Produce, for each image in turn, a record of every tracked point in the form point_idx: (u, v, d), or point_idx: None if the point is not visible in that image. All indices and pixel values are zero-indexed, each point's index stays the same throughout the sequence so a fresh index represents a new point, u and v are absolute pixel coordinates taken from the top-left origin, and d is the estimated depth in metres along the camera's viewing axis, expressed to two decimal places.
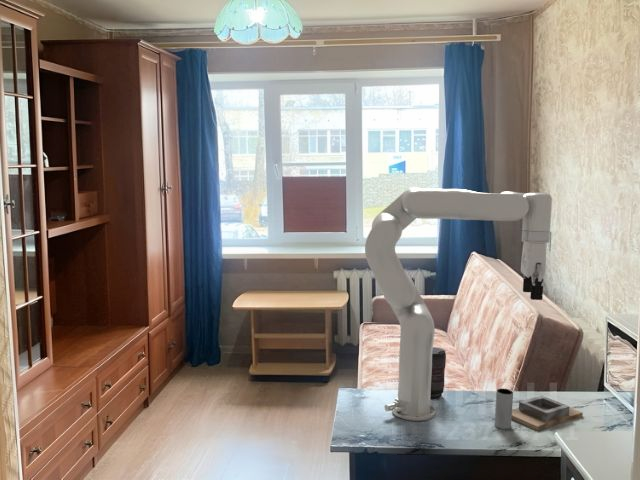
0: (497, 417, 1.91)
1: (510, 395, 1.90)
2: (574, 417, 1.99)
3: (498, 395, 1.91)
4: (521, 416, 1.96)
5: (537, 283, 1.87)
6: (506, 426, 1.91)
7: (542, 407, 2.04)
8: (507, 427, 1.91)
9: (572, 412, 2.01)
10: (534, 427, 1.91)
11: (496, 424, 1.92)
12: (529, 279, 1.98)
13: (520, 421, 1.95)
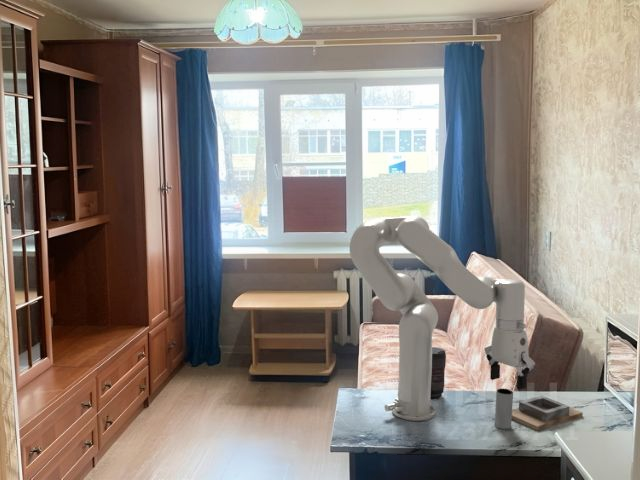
0: (497, 417, 1.91)
1: (510, 395, 1.90)
2: (574, 417, 1.99)
3: (498, 395, 1.91)
4: (521, 416, 1.96)
5: None
6: (506, 426, 1.91)
7: (542, 407, 2.04)
8: (507, 427, 1.91)
9: (572, 412, 2.01)
10: (534, 427, 1.91)
11: (496, 424, 1.92)
12: None
13: (520, 421, 1.95)
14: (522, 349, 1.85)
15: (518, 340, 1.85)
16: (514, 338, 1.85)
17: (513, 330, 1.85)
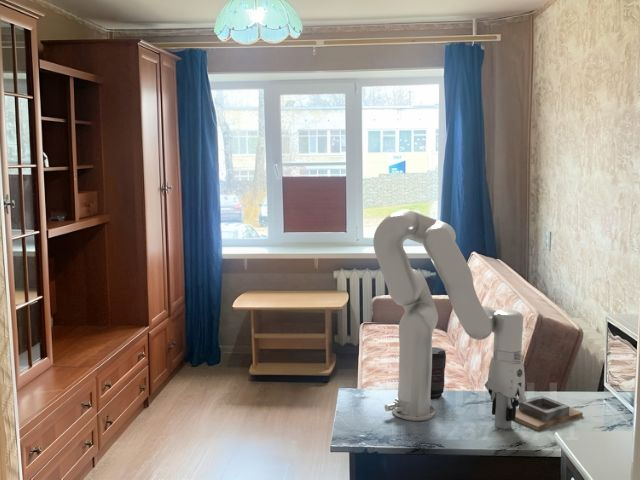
0: (497, 417, 1.91)
1: None
2: (574, 417, 1.99)
3: (498, 395, 1.91)
4: (521, 416, 1.96)
5: None
6: (506, 426, 1.91)
7: (542, 407, 2.04)
8: (507, 427, 1.91)
9: (572, 412, 2.01)
10: (534, 427, 1.91)
11: (496, 424, 1.92)
12: None
13: (520, 421, 1.95)
14: (519, 380, 1.86)
15: (515, 371, 1.86)
16: (511, 369, 1.86)
17: (510, 361, 1.86)
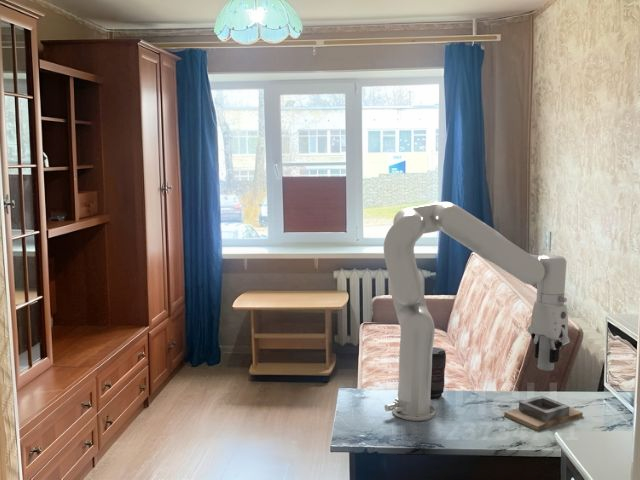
0: (540, 359, 1.97)
1: None
2: (574, 417, 1.99)
3: (541, 338, 1.96)
4: (521, 416, 1.96)
5: None
6: (549, 368, 1.96)
7: (542, 407, 2.04)
8: (550, 369, 1.96)
9: (572, 412, 2.01)
10: (534, 427, 1.91)
11: (539, 366, 1.97)
12: None
13: (520, 421, 1.95)
14: (562, 322, 1.92)
15: (559, 313, 1.91)
16: (555, 311, 1.92)
17: (554, 304, 1.92)
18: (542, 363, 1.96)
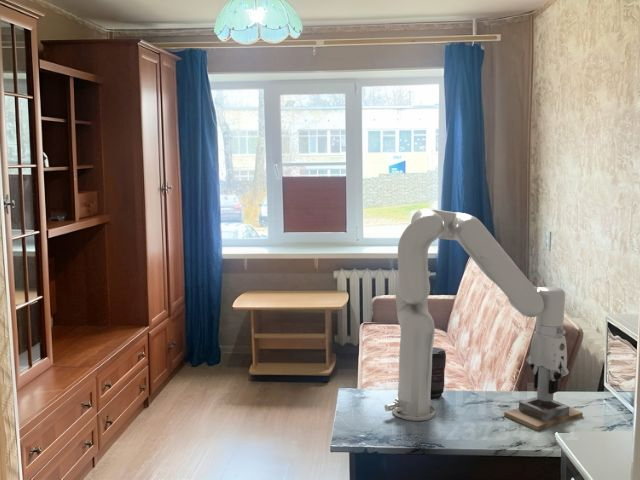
0: (539, 390, 1.98)
1: None
2: (574, 417, 1.99)
3: (541, 368, 1.98)
4: (521, 416, 1.96)
5: None
6: (548, 398, 1.98)
7: (542, 407, 2.04)
8: (549, 399, 1.98)
9: (572, 412, 2.01)
10: (534, 427, 1.91)
11: (539, 396, 1.99)
12: None
13: (520, 421, 1.95)
14: (561, 354, 1.93)
15: (558, 345, 1.93)
16: (554, 343, 1.93)
17: (553, 335, 1.93)
18: (541, 394, 1.98)
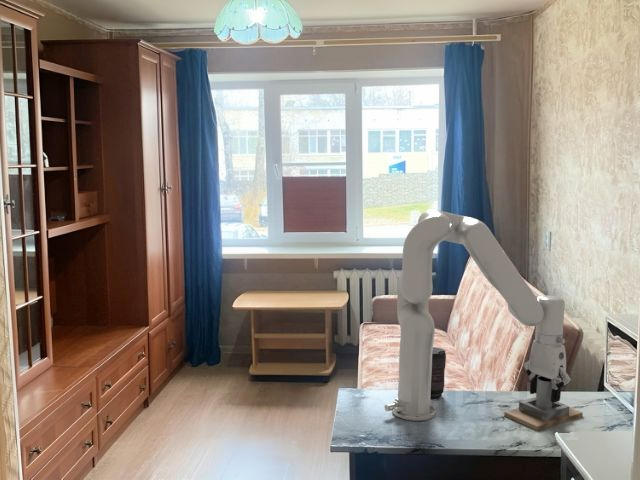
0: (537, 403, 1.99)
1: (551, 382, 1.97)
2: (574, 417, 1.99)
3: (539, 382, 1.98)
4: (521, 416, 1.96)
5: None
6: None
7: None
8: None
9: (572, 412, 2.01)
10: (534, 427, 1.91)
11: None
12: None
13: (520, 421, 1.95)
14: (560, 363, 1.94)
15: (557, 354, 1.93)
16: (553, 352, 1.93)
17: (552, 344, 1.94)
18: (539, 407, 1.98)
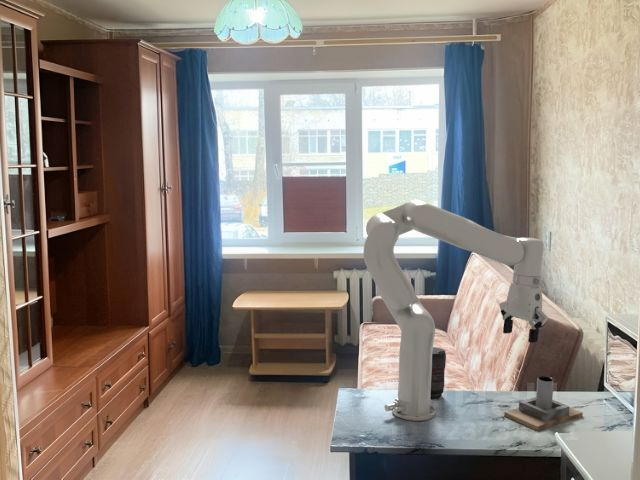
0: (537, 403, 1.99)
1: (551, 382, 1.97)
2: (574, 417, 1.99)
3: (539, 382, 1.98)
4: (521, 416, 1.96)
5: None
6: None
7: None
8: None
9: (572, 412, 2.01)
10: (534, 427, 1.91)
11: None
12: None
13: (520, 421, 1.95)
14: (536, 304, 1.94)
15: (533, 295, 1.93)
16: (529, 293, 1.94)
17: (529, 285, 1.94)
18: (539, 407, 1.98)
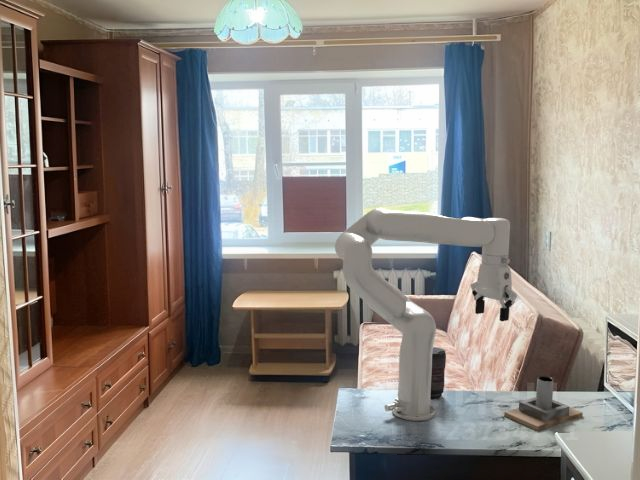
0: (537, 403, 1.99)
1: (551, 382, 1.97)
2: (574, 417, 1.99)
3: (539, 382, 1.98)
4: (521, 416, 1.96)
5: None
6: None
7: None
8: None
9: (572, 412, 2.01)
10: (534, 427, 1.91)
11: None
12: None
13: (520, 421, 1.95)
14: (505, 283, 1.96)
15: (502, 274, 1.96)
16: (498, 272, 1.96)
17: (498, 265, 1.96)
18: (539, 407, 1.98)
